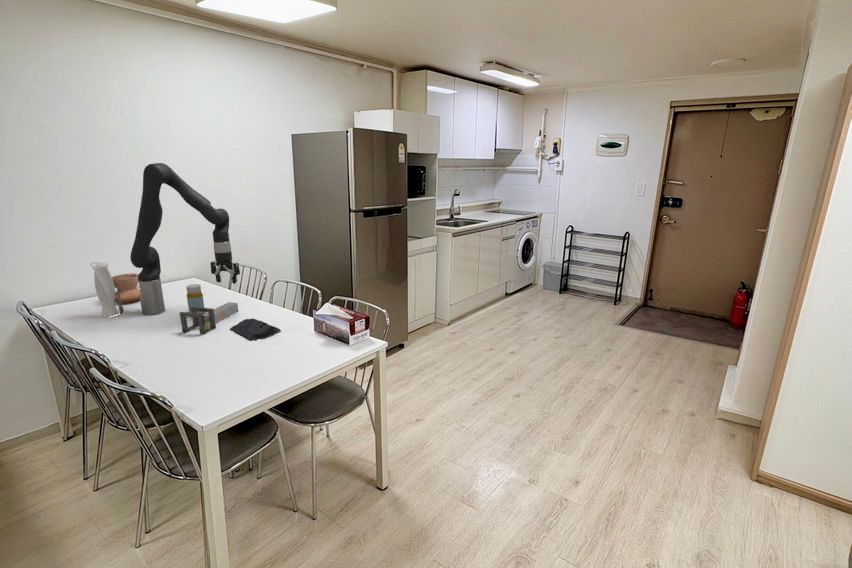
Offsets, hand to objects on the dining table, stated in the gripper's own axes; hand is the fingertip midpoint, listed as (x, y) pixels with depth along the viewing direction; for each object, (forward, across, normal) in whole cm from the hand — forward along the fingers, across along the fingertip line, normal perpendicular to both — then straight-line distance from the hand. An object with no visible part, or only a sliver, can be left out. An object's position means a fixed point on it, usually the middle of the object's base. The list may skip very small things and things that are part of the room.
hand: (226, 282), depth 216 cm
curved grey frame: (+16, 0, -22) cm, 28 cm away
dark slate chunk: (+17, +24, -17) cm, 34 cm away
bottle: (+16, -15, -5) cm, 23 cm away
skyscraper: (+16, -55, -16) cm, 60 cm away
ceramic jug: (+16, -65, +4) cm, 67 cm away
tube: (+16, 0, -7) cm, 18 cm away
